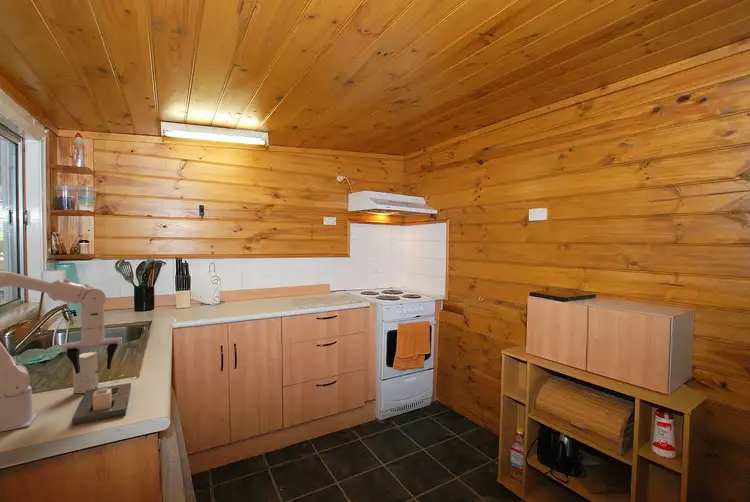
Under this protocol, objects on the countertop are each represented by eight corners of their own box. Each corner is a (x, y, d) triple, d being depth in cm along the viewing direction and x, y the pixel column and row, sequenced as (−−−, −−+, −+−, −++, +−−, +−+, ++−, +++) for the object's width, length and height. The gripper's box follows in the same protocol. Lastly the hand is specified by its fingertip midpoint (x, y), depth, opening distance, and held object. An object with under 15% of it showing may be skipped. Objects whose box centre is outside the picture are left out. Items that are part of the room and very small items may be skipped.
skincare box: (86, 393, 121) (85, 357, 121) (72, 394, 121) (71, 357, 121) (99, 386, 127) (98, 351, 127) (85, 386, 127) (85, 352, 127)
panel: (72, 425, 101) (72, 418, 101) (86, 396, 120) (86, 390, 120) (125, 415, 107) (125, 408, 107) (130, 388, 126) (130, 382, 126)
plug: (93, 416, 106) (92, 393, 106) (95, 411, 109) (94, 388, 109) (110, 413, 108) (109, 390, 108) (111, 407, 111) (111, 385, 111)
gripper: (122, 321, 121) (123, 362, 121) (65, 326, 113) (66, 370, 114) (120, 326, 114) (121, 369, 115) (60, 331, 107) (61, 377, 108)
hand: (93, 370), depth 114 cm, fingers open, 7 cm apart
